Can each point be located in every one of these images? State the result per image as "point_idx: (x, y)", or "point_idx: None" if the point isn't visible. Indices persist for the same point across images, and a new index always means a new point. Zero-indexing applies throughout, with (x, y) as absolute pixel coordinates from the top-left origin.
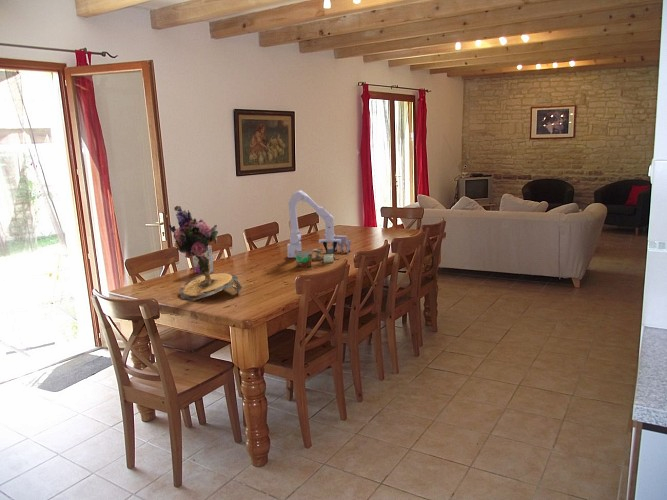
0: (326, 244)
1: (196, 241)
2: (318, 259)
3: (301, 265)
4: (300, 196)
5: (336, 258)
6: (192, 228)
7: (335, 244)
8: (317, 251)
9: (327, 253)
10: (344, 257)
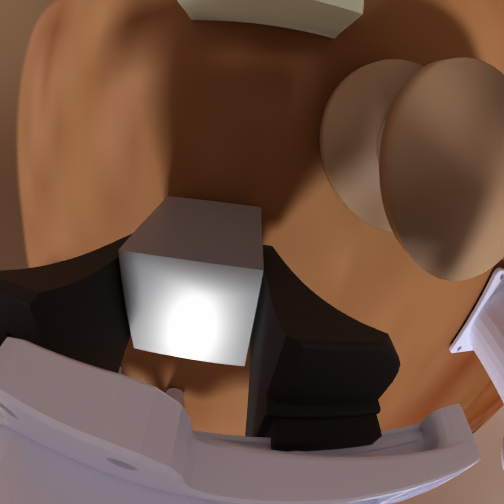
0: (293, 333)
1: None
2: (410, 65)
3: None
4: None
5: (139, 78)
6: None
7: (10, 277)
8: (496, 73)
9: (258, 223)
10: (49, 130)
